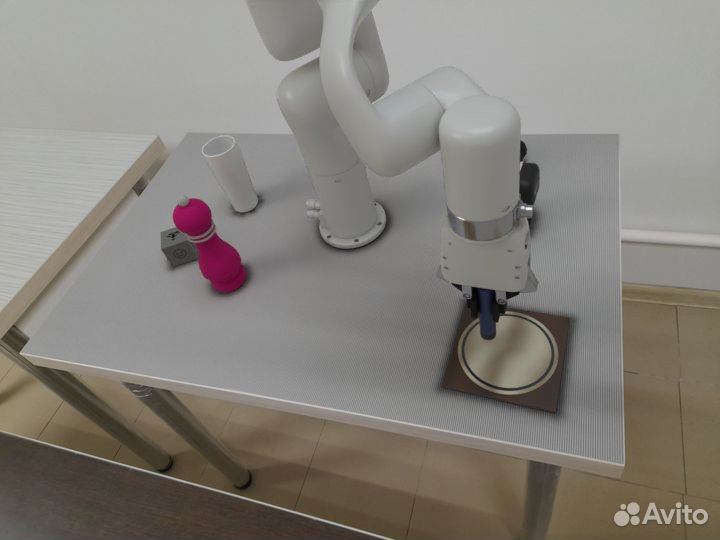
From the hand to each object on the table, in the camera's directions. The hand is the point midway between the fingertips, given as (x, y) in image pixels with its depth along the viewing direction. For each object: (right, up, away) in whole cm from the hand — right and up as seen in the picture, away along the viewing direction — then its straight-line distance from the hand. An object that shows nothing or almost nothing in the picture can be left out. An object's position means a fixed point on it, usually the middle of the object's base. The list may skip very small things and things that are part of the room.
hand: (487, 311), depth 70 cm
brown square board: (+4, -6, +4) cm, 9 cm away
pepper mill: (-41, +4, +25) cm, 48 cm away
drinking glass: (-40, +19, +39) cm, 59 cm away
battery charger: (+11, +13, +20) cm, 26 cm away
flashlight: (+9, +19, +26) cm, 33 cm away
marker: (+1, -4, +4) cm, 6 cm away
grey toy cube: (-51, +8, +33) cm, 61 cm away
